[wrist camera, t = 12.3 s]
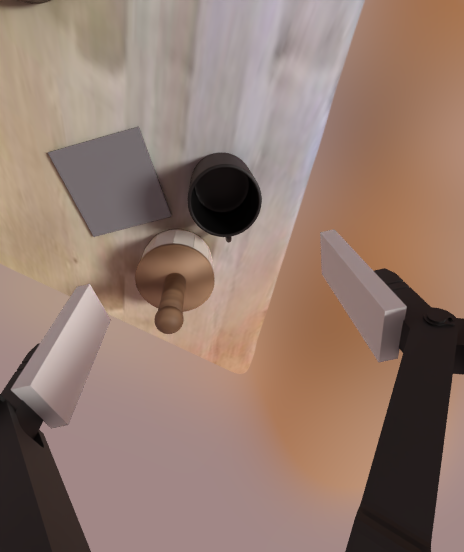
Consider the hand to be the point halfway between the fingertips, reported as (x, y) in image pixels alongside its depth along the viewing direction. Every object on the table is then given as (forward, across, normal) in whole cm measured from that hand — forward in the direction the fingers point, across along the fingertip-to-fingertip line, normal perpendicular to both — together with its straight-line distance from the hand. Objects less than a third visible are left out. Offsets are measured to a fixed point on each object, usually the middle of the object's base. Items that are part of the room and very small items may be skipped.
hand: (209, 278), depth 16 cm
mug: (+31, +1, -5) cm, 32 cm away
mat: (+31, -14, 0) cm, 34 cm away
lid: (+25, -9, -14) cm, 30 cm away
